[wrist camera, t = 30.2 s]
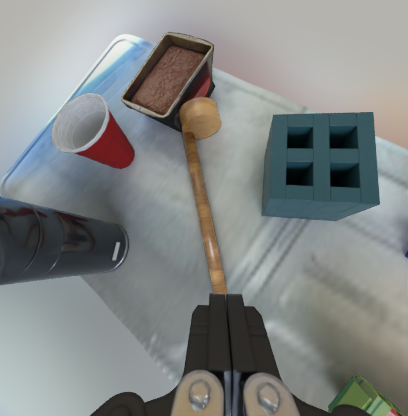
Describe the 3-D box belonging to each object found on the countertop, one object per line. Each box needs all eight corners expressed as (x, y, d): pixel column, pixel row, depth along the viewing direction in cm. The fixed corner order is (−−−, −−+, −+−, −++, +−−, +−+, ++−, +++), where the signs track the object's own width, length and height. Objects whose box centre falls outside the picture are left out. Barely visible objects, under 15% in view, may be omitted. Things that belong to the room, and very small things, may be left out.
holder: (261, 215, 34) (269, 198, 24) (264, 154, 37) (273, 114, 26) (335, 221, 32) (380, 204, 22) (333, 155, 34) (373, 111, 24)
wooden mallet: (205, 305, 29) (168, 111, 36) (223, 291, 35) (189, 129, 42) (257, 301, 26) (206, 89, 32) (267, 287, 32) (223, 112, 39)
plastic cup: (113, 128, 45) (68, 84, 33) (153, 140, 42) (119, 98, 31) (90, 171, 43) (35, 140, 32) (130, 187, 41) (86, 160, 29)
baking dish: (137, 119, 47) (107, 93, 37) (179, 51, 45) (160, 5, 35) (185, 150, 44) (167, 131, 34) (232, 78, 42) (227, 36, 32)
